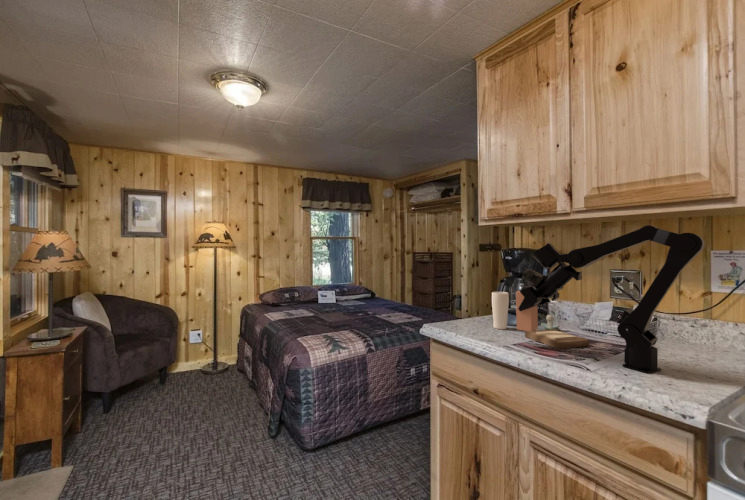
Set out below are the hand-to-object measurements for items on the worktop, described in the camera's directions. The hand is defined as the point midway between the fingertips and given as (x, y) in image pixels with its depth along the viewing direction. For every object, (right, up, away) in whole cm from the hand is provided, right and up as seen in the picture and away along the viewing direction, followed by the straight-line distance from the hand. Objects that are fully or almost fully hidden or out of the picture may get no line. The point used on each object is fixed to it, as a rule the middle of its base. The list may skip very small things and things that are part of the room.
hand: (522, 309), depth 120 cm
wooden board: (+14, -12, +5) cm, 19 cm away
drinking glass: (+1, -13, +25) cm, 28 cm away
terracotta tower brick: (+1, -7, -1) cm, 7 cm away
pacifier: (+22, -13, +24) cm, 35 cm away
